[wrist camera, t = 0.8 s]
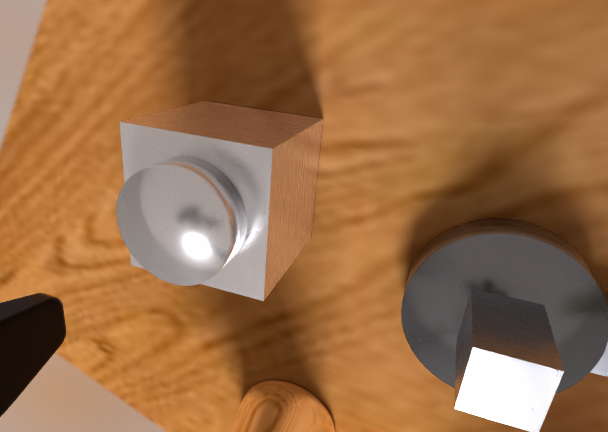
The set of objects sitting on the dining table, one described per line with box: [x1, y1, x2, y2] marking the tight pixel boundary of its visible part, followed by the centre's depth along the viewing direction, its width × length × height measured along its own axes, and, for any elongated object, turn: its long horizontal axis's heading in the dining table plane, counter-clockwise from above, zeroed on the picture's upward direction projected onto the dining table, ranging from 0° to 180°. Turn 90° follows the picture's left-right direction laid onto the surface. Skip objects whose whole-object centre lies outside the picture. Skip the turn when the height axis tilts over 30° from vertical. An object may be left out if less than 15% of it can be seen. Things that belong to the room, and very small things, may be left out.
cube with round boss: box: [116, 101, 323, 301], centre depth 19 cm, size 6×6×8 cm
